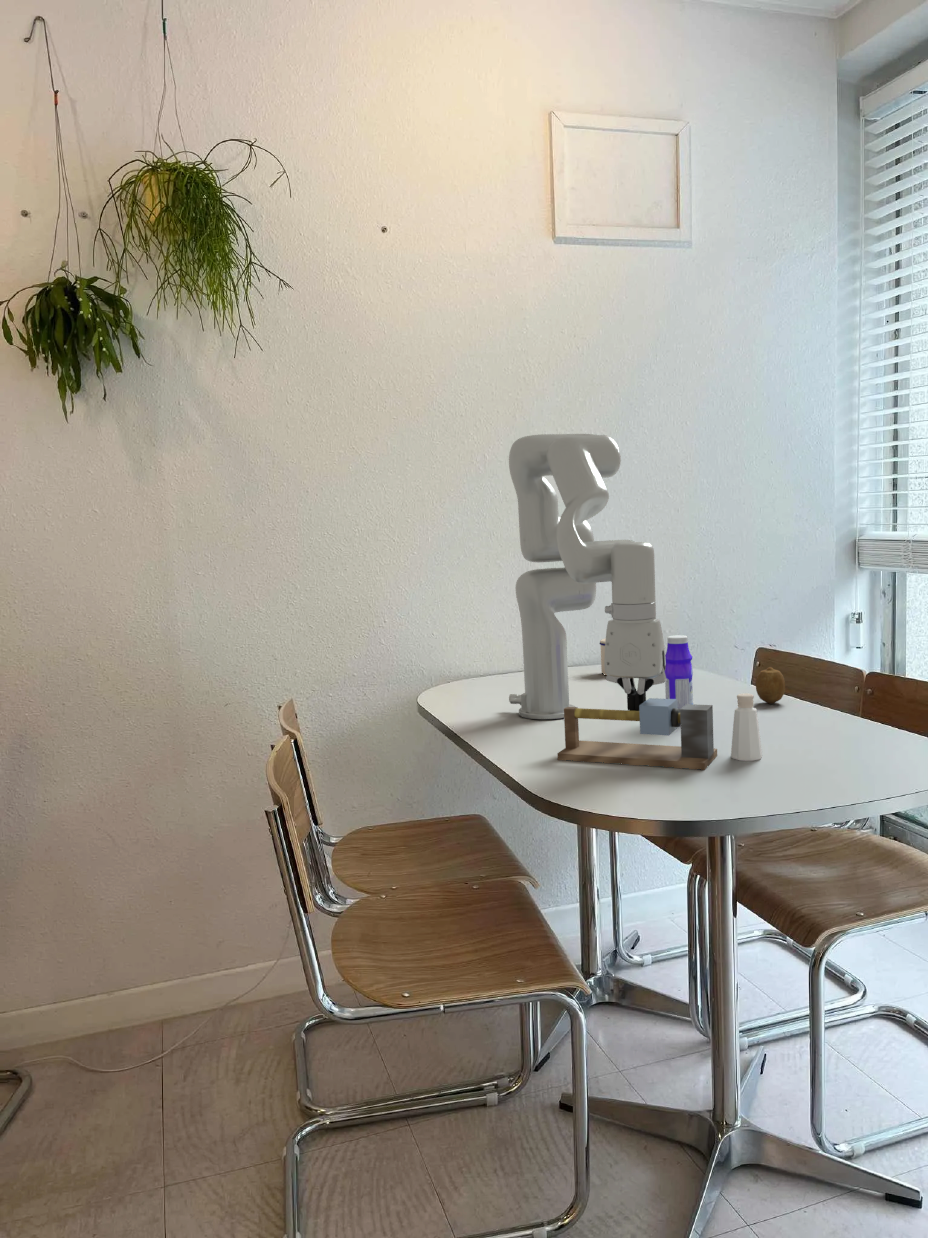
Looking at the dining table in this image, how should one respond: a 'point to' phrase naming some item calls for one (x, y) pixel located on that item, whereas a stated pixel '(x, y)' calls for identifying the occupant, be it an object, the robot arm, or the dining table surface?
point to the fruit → (770, 685)
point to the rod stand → (690, 754)
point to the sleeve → (657, 716)
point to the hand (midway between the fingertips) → (637, 714)
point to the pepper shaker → (746, 731)
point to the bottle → (678, 670)
